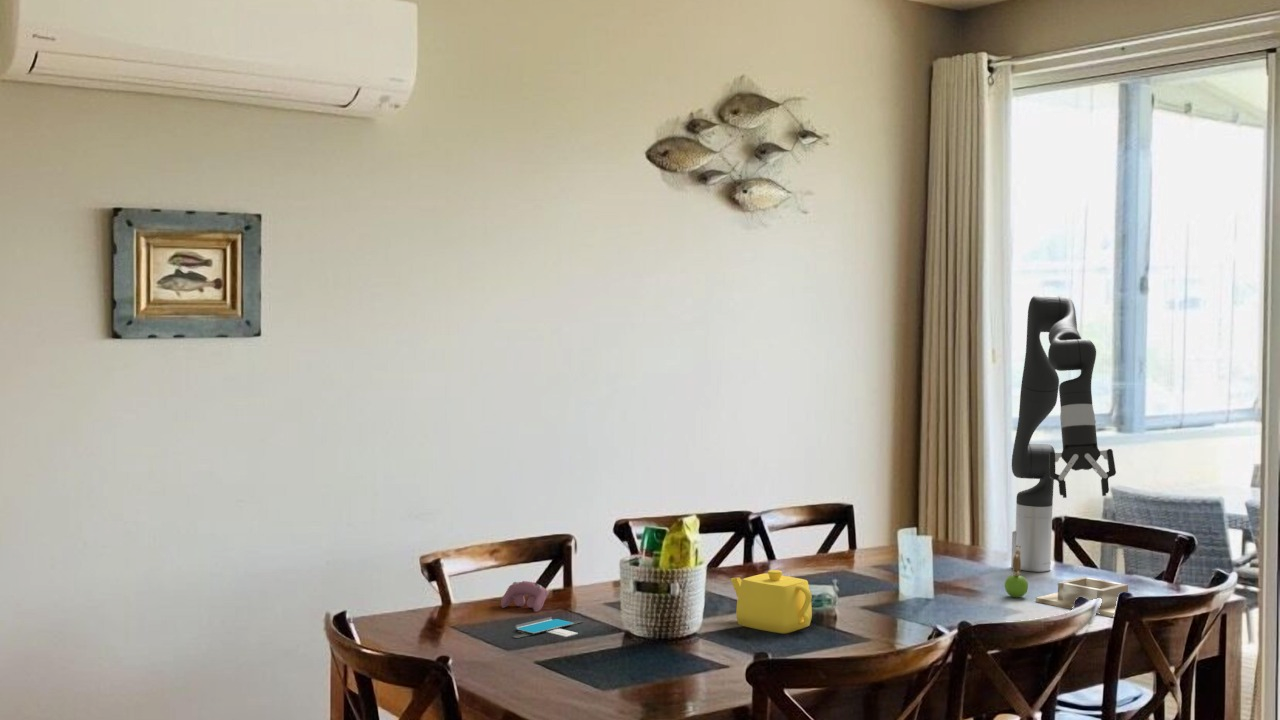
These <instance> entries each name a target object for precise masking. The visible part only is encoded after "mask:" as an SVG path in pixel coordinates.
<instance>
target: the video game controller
mask: <svg viewBox="0 0 1280 720" xmlns="http://www.w3.org/2000/svg"><path fill="white" fill-rule="evenodd" d="M548 595H549V593H548V590H547V588H545V587H544V586H542V585H541V584H538V583H537V582H533V581H527V580H524V581H518V582H516V581H513V583H512V584H510V585H509V586H508V588H507V589H506V591H505V593H504V594H503V596H502V598H501V600H500V607H501V608H502V609H505V608H507V607H508V606H509V605H510V604H511V603H512V602H514V605H515V606H517V607H519V608H521V607H524V606H525V604H526V606H527V607H528V608H529V609H533V612H534V613H538V612H539V611H541V609H542V608H543V606H544V603H545V601H546V599H547V598H548ZM525 596H529V597H528V599H527V600H526V598H525Z"/></svg>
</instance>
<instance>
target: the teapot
mask: <svg viewBox="0 0 1280 720" xmlns="http://www.w3.org/2000/svg"><path fill="white" fill-rule="evenodd" d="M730 581H731V583H732V586H733V590H734V591H735V594H736V596H737V600H736V612H735V616H736V620H737V624H738V625H739V626H742V627H746V628H749V629H755V630H760V631H765V632H771V633H776V634H789V633H793V632H796V631H799V630H802V629H806V628H807V627H810V625H811V621H812V616H813V611H812V610H813V608H812V598H813V597H812V593H811V591H810V586H809V581H808V580H807V579H804V578H798V577H793V576H788V575H783V571H781V570H779V569H770V570H768V571H767V573H766V572H765V573H760V574H757V575H752V576H748V577H745V578H742V579H741V577H740V576H739V577H732V578H730Z"/></svg>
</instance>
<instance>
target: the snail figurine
mask: <svg viewBox="0 0 1280 720" xmlns="http://www.w3.org/2000/svg"><path fill="white" fill-rule="evenodd" d="M1016 547H1018V545H1016ZM1019 547H1021V545H1019ZM1015 554H1016V555H1015V556H1014V558H1013V567H1012V568H1013V569H1012V570H1013V574H1011V575H1009V576H1008V577H1007V578H1006V579H1005V581H1004V589H1005V591H1006V593H1007V595H1009V596H1011V598H1012V597H1013V598H1021V597H1024V596H1025V595H1026V594H1027V592H1028V590H1029V583H1028V581H1027V579H1026V578H1025V577H1024V576H1023V575H1020V573H1021V571H1022V570H1021V559H1020V555H1021V552H1020V550H1016V552H1015Z"/></svg>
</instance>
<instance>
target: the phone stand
mask: <svg viewBox="0 0 1280 720" xmlns="http://www.w3.org/2000/svg"><path fill="white" fill-rule="evenodd" d="M579 623H580V624H581V623H584V621H583V620H575V621H569V620H568V621H567V620H563V619H559V618H553V617H552V616H549V617H544V618H539V619H536V620H532V621H528V622H523V623H518V624H515V631H517V632H518V633H520V634H518V635H517V634H516V635H514V636H512V638H515V639H520V638H523V637H529V636H530V637H531V636H534V635H538V634H541V633H549V634H552V635H556V636H560V637H564V638H567V637H572V636H575V635H578V634H579V633H578V632H575V631H571V630H567V629H563V628H566V627H570V626H574V625H578V624H579Z"/></svg>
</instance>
